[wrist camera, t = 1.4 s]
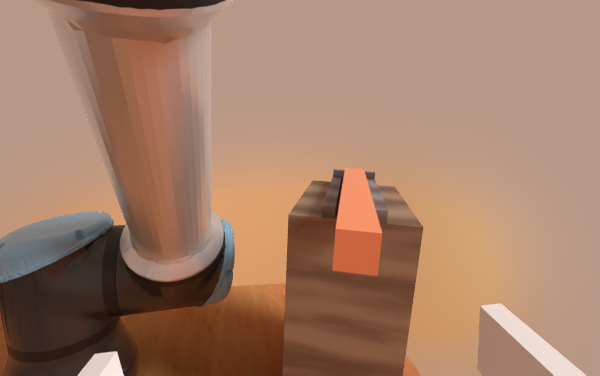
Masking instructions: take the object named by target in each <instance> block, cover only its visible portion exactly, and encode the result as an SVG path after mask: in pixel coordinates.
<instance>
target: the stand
mask: <svg viewBox="0 0 600 376" xmlns="http://www.w3.org/2000/svg"><path fill="white" fill-rule="evenodd" d="M344 172H345V170H336V169H335V170H334V174H333V178H332V181H331V182H325V181H312V182H311V184H310V185H309V187H308V188H307V189H306V191H305V192H304V194H303V195H302V196H301V198H300V199H299V201H298V202H297V204H296V205H295V206H294V208H293V209H292V211H291V212H290V213H289V220H288V244H287V271H286V295H285V320H284V345H283V370H282V376H402V375H403V368H404V361H405V354H406V346H407V339H408V332H409V325H410V318H411V311H412V304H413V297H414V290H415V282H416V275H417V268H418V260H419V254H420V246H421V239H422V232H423V226H422V225H421V223H420V222H419V221H418V219H417V218H416V216H415V215H414V214H413V212H412V211H411V209H410V208H409V206H408V205H407V204H406V202H405V201H404V199H403V198H402V197H401V195H400V194H399V192H398V191H397V189H396V188H395V187H390V186H377V184H376V181H375V179H374V177H375V172H365V174H366V178H367V181H368V185H369V188H370V192H371V195H372V199H373V202H374V206H375V209H376V213H377V216H378V220H379V223H380V227H381V230H382V241H381V250H380V259H379V268H378V276H373V275H364V274H356V273H348V272H340V271H332V269H333V255H334V242H335V229H336V222H337V216H338V210H339V203H340V197H341V191H342V184H343V178H344Z"/></svg>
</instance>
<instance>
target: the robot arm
mask: <svg viewBox="0 0 600 376" xmlns="http://www.w3.org/2000/svg"><path fill="white" fill-rule="evenodd" d="M35 1H37V2H38V3H40V4H41V5H43V6H44V7H46V8H47V11H48V13H49V16H50V19H51V21H52V24H53V27H54V30H55V32H56V35H57V37H58V40H59V43H60V46H61V48H62V51H63V54H64V56H65V59H66V62H67V64H68V67H69V70H70V72H71V75H72V78H73V80H74V83H75V86H76V89H77V91H78V94H79V97H80V99H81V102H82V105H83V108H84V110H85V113H86V115H87V118H88V121H89V124H90V126H91V129H92V132H93V134H94V137H95V139H96V142H97V145H98V148H99V150H100V153H101V156H102V158H103V161H104V164H105V167H106V169H107V172H108V175H109V177H110V180H111V183H112V185H113V188H114V191H115V194H116V196H117V199H118V201H119V204H120V207H121V210H122V212H123V215H124V218H125V220H126V225H119V226H114V225H113V224H114V222H113V219H112V218H111V216H110V215H109V214H107V213H104V212H102V213H99V212H83V213H75V214H69V215H64V216H60V217H55V218H51V219H47V220H43V221H40V222H36V223H33V224H30V225H27V226H25V227H22V228H20V229H17V230H15V231H13V232H11V233H9V234H7V235H6V236H4V237H3V238H1V239H0V314H1V319H2V324H3V329H4V334H5V339H6V343H7V349H8V355H9V356H8V360H7V363H6V367H5V370H4V374H3V376H136V375H137V371H138V352H137V347H136V345H135V343H134V341H133V339H132V337H131V336H130V334H129V332H128V331H127V329H126V327H125V325H124V324H123V322H122V320H121V318H120V316H124V315H131V314H139V313H146V312H154V311H162V310H170V309H178V308H185V307H193V306H197V307H203V306H206V305H208V304H212V303H218V302H220V301H222V300H224V299H225V298H226V297H227V295H228V293H229V291H230V288H231V284H232V279H233V271H232V270H233V268H234V257H235V256H234V250H235V249H234V237H233V230H232V227H231V225H230V224H229V223H228V222H227V221H224V220H220V218H219V217H218V215H217V214H216V213H215V212H214V210H212V209H211V20H212V18H214V17H215V16H216V15H217V14H218V13H220V12H221V11H222V10H223V9H224V8H226V7H227V6H228V5H229V4H230V3H232V2H233V1H234V0H35ZM478 370H479V371H480V372H481V374H482V375H483V376H586V375H585V374H584V373H583V372H581V371H580V370H579V369H578V368H577V367H575V366H574V365H573V364H572V363H571V362H569V361H568V360H567V359H566V358H565V357H563V356H562V355H561V354H560V353H559V352H557V351H556V350H555V349H554V348H553V347H552V346H550V345H549V344H548V343H547V342H546V341H545V340H543V339H542V338H541V337H540V336H539V335H537V334H536V333H535V332H534V331H533V330H531V329H530V328H529V327H528V326H527V325H526V324H524V323H523V322H522V321H521V320H520V319H518V318H517V317H516V316H515V315H514V314H512V313H511V312H510V311H509V310H508V309H506V308H505V307H504V306H503V305H502V304H493V305H484V306H480V322H479V347H478Z"/></svg>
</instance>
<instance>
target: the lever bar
mask: <svg viewBox="0 0 600 376" xmlns="http://www.w3.org/2000/svg"><path fill="white" fill-rule="evenodd" d="M381 241H382V230H381V227H380V223H379V220H378V216H377V213H376V209H375V206H374V202H373V199H372V195H371V192H370V188H369V185H368V181H367V178H366V174H365V171H364V169H359V168H345V172H344V178H343V184H342V191H341V197H340V203H339V210H338V216H337V222H336V229H335V242H334V255H333V269H332V271H340V272H348V273H356V274H364V275H373V276H378V268H379V259H380V250H381Z"/></svg>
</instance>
